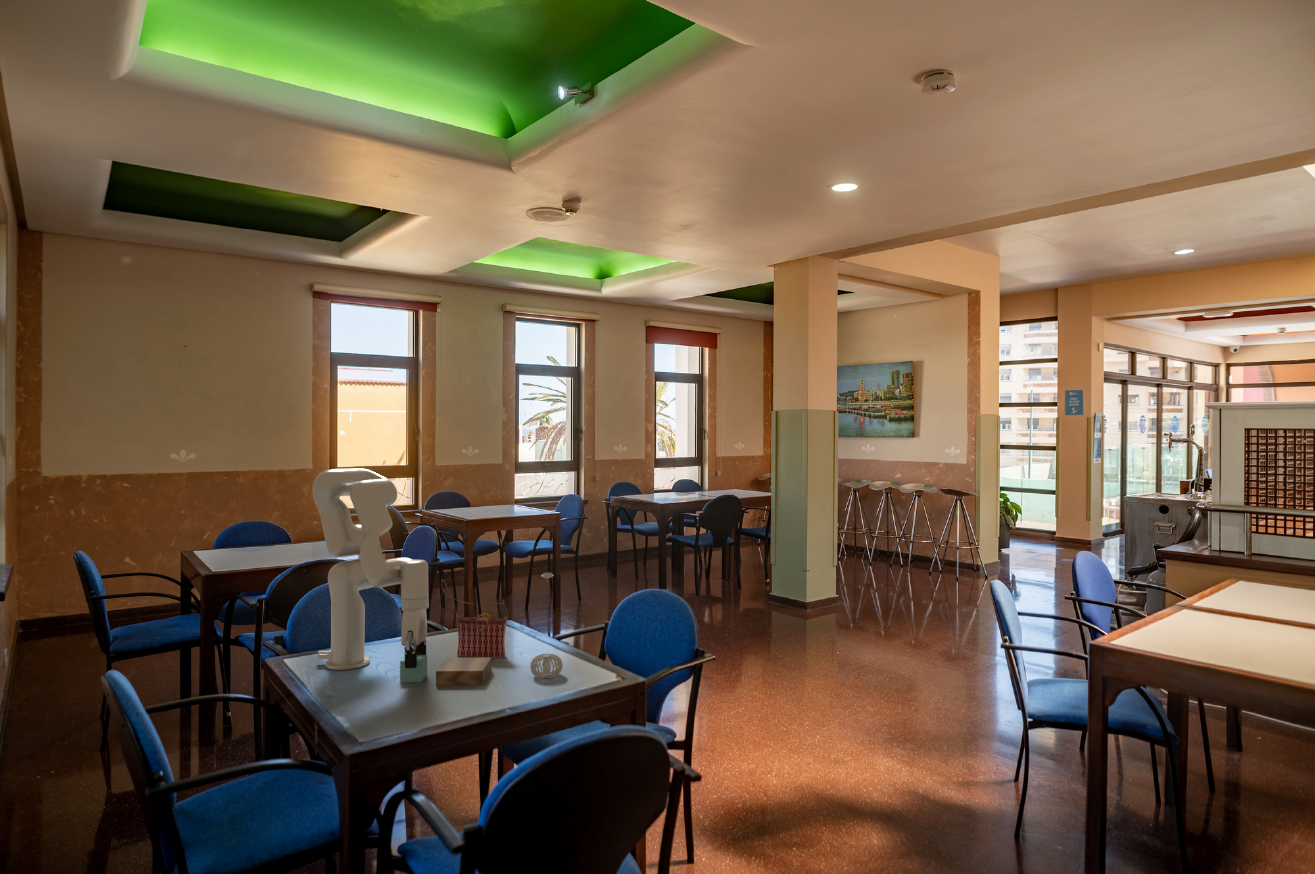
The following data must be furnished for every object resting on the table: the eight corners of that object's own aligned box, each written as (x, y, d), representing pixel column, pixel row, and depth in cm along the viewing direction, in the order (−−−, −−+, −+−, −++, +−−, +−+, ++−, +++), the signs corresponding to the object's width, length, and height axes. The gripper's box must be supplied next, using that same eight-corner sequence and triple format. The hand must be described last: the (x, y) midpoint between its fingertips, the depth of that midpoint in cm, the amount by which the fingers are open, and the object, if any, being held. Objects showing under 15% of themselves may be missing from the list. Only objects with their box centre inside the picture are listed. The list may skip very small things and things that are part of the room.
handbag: (446, 653, 236) (446, 576, 237) (509, 655, 234) (509, 577, 235) (437, 660, 229) (438, 580, 229) (502, 662, 227) (502, 581, 227)
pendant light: (568, 673, 216) (569, 572, 216) (551, 683, 208) (551, 577, 208) (542, 669, 220) (542, 569, 220) (523, 678, 212) (524, 574, 212)
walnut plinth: (435, 685, 205) (436, 671, 205) (447, 671, 218) (447, 657, 218) (482, 684, 206) (482, 670, 206) (491, 670, 219) (491, 657, 219)
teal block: (399, 682, 208) (400, 660, 208) (406, 675, 214) (406, 654, 214) (421, 681, 208) (421, 660, 208) (427, 675, 214) (427, 654, 214)
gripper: (410, 597, 220) (411, 655, 219) (392, 609, 203) (393, 672, 202) (436, 597, 220) (436, 654, 220) (419, 609, 203) (420, 671, 202)
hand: (415, 662), depth 211 cm, fingers open, 9 cm apart
